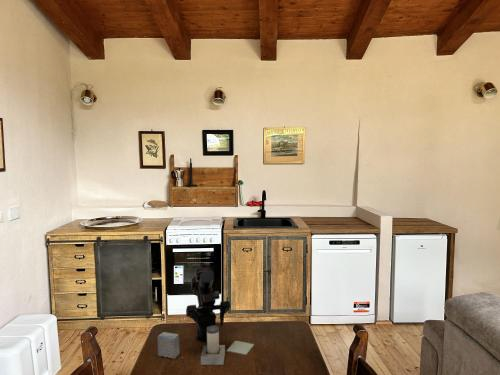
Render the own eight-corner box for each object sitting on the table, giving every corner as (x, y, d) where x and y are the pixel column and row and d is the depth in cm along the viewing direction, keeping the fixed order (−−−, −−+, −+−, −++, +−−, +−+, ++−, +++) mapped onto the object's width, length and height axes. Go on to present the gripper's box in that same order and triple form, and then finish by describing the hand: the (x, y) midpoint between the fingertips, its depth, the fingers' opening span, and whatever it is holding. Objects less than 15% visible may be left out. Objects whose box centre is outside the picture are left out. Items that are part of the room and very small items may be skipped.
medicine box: (179, 354, 151) (179, 334, 151) (174, 359, 147) (173, 338, 146) (163, 351, 154) (163, 331, 153) (157, 356, 150) (157, 336, 149)
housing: (203, 353, 151) (203, 345, 151) (225, 353, 151) (224, 345, 151) (200, 365, 142) (200, 356, 142) (223, 364, 142) (223, 356, 142)
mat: (226, 351, 153) (226, 350, 153) (235, 341, 161) (235, 340, 161) (246, 355, 150) (246, 354, 150) (253, 345, 158) (253, 344, 158)
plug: (205, 360, 146) (204, 329, 145) (210, 354, 150) (210, 324, 149) (215, 363, 144) (215, 331, 143) (221, 357, 148) (220, 326, 148)
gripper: (186, 287, 151) (190, 323, 141) (229, 282, 157) (235, 317, 147) (184, 299, 159) (188, 334, 149) (225, 294, 164) (231, 327, 155)
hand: (211, 328), depth 150 cm, fingers open, 9 cm apart
